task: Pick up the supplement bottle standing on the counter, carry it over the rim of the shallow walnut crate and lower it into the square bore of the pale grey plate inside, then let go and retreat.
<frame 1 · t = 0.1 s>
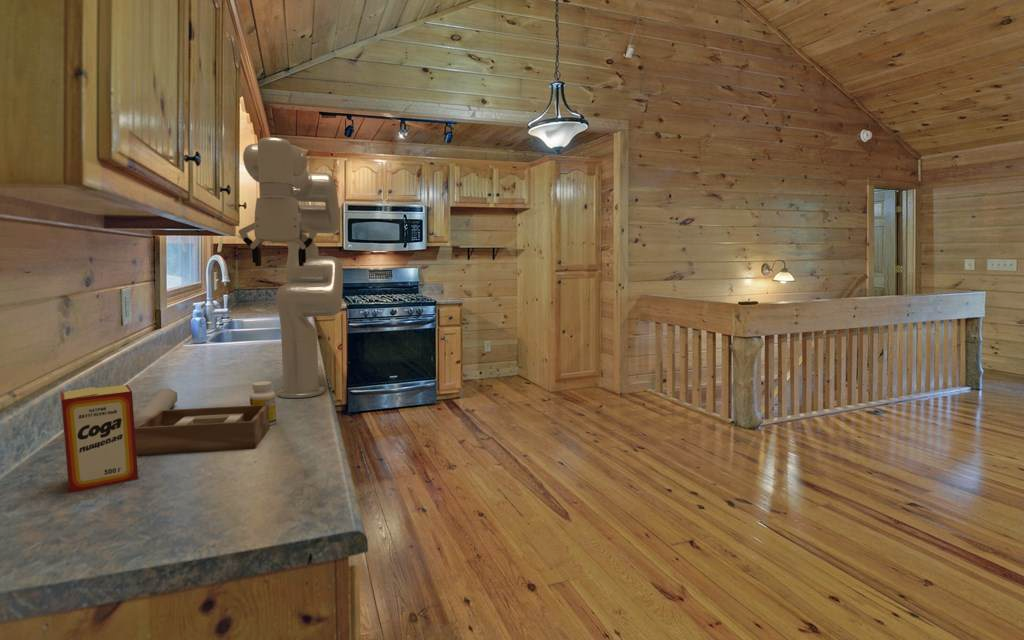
hand: (280, 266, 134), 37 cm above the counter, tool pointing down, fingers open, 9 cm apart
baking soda box: (103, 481, 98), on the counter
crate: (206, 441, 119), on the counter
supplement bottle: (263, 424, 131), on the counter
tube: (157, 420, 136), on the counter
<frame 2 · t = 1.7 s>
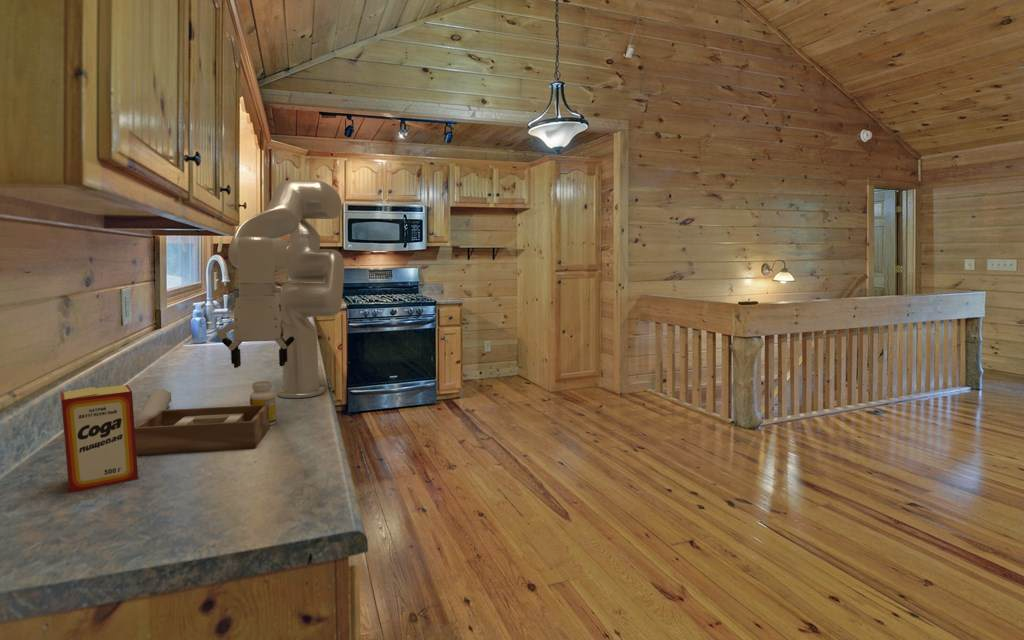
hand: (260, 366, 129), 14 cm above the counter, tool pointing down, fingers open, 9 cm apart
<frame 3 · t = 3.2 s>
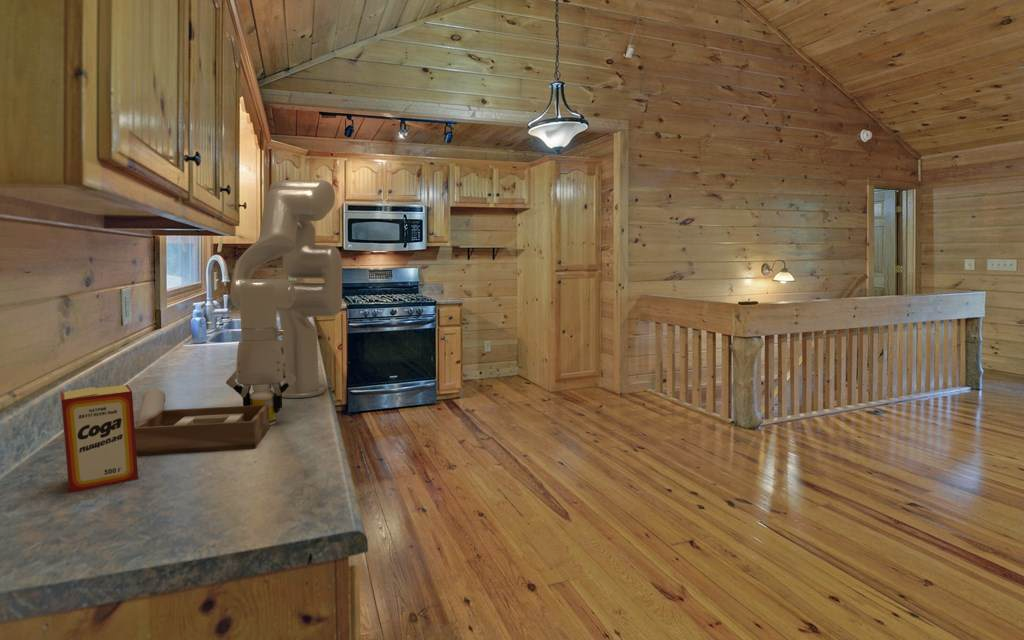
hand: (263, 411, 131), 3 cm above the counter, tool pointing down, fingers closed on supplement bottle, 5 cm apart
supplement bottle: (263, 424, 131), on the counter, touching gripper
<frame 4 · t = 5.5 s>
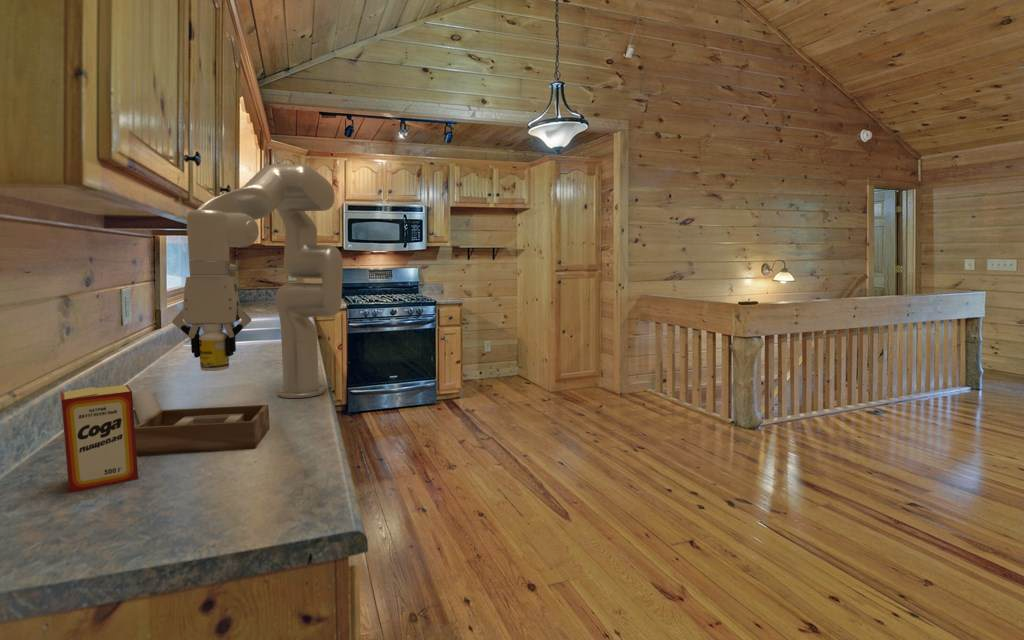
hand: (214, 355, 119), 18 cm above the counter, tool pointing down, fingers closed on supplement bottle, 5 cm apart
supplement bottle: (215, 370, 119), point 15 cm above the counter, touching gripper
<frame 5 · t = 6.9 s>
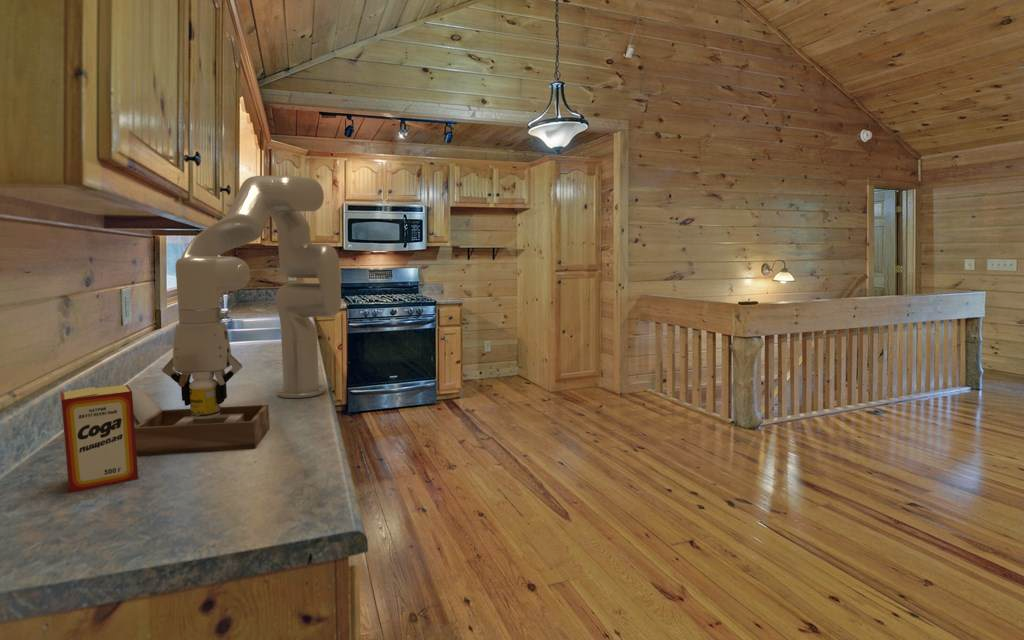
hand: (205, 402, 118), 8 cm above the counter, tool pointing down, fingers closed on supplement bottle, 5 cm apart
supplement bottle: (205, 417, 118), point 5 cm above the counter, touching gripper
when the fingers open (5 cm above the counter, at t = 8.0 s): supplement bottle stays where it is, resting on crate.
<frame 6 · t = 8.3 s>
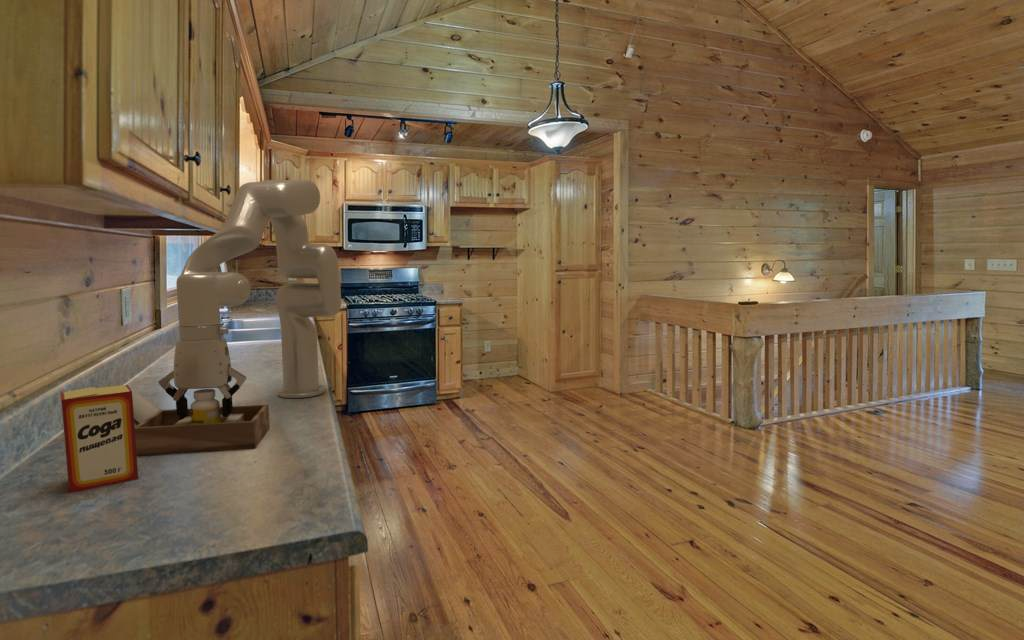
hand: (205, 416, 118), 5 cm above the counter, tool pointing down, fingers open, 7 cm apart
supplement bottle: (207, 437, 119), point 1 cm above the counter, touching crate
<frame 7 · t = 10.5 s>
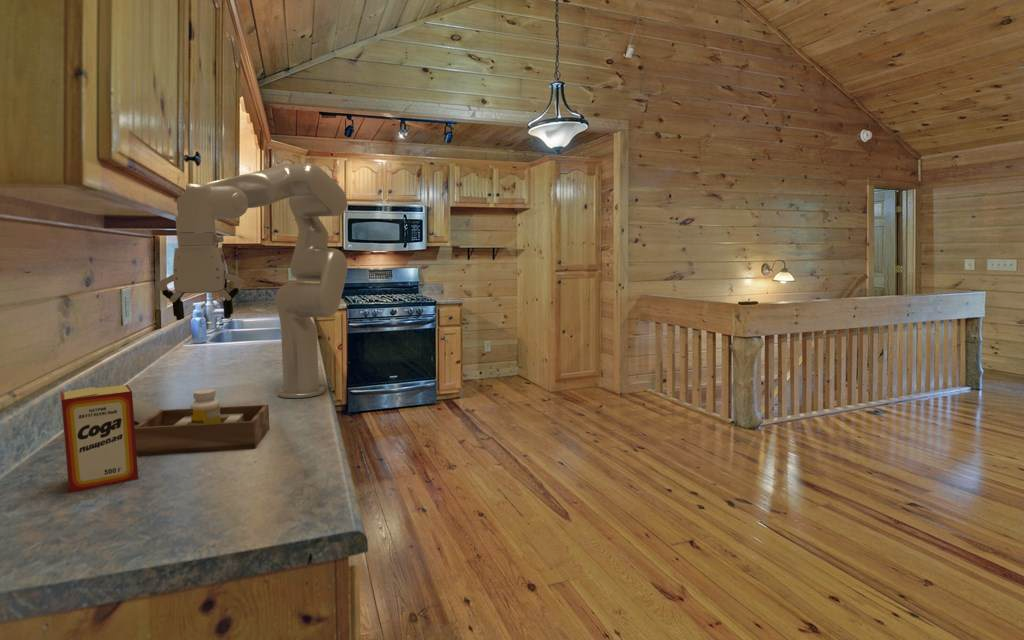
hand: (204, 318, 126), 25 cm above the counter, tool pointing down, fingers open, 9 cm apart
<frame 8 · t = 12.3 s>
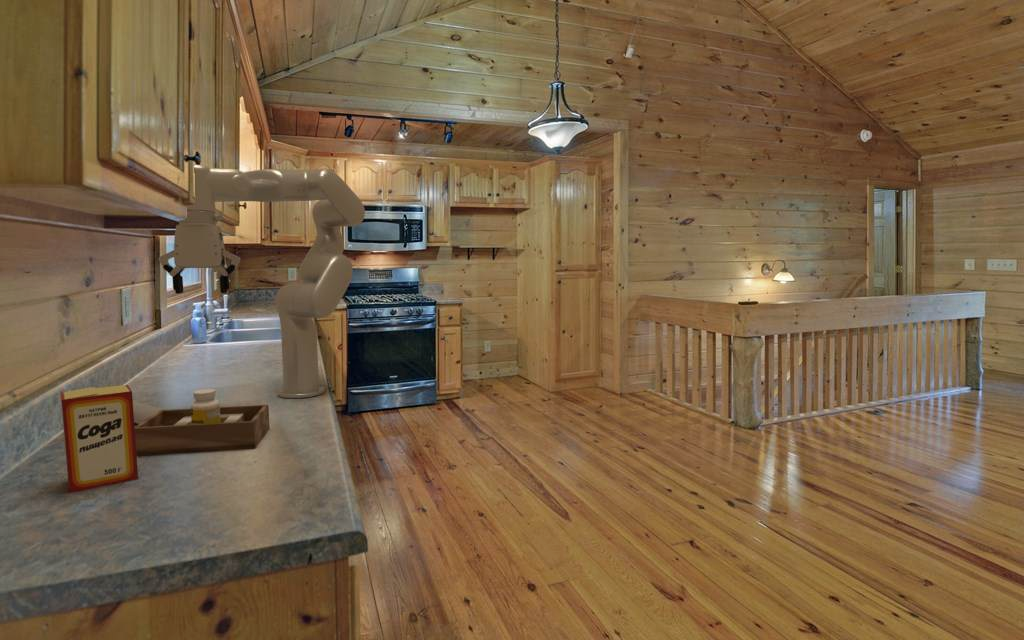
hand: (202, 293, 133), 30 cm above the counter, tool pointing down, fingers open, 9 cm apart
at the end: supplement bottle 0.2 cm off-centre on the crate, point 0.8 cm above the crate's base; supplement bottle tilted 0°; the gripper is holding nothing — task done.
